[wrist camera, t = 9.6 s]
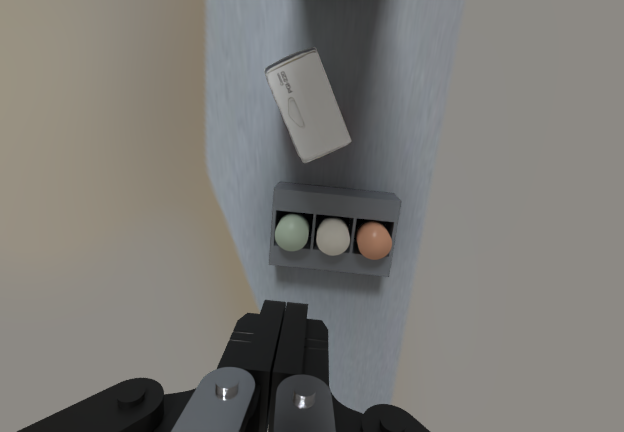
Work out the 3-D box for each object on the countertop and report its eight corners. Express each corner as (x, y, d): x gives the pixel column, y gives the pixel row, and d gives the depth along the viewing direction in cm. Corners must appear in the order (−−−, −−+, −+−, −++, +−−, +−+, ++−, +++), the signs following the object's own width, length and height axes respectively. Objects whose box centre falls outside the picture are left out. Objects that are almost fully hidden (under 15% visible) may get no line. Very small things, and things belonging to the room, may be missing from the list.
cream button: (318, 214, 41) (318, 222, 38) (350, 218, 41) (351, 225, 38) (315, 244, 42) (314, 253, 39) (346, 247, 41) (347, 257, 39)
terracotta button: (358, 218, 41) (360, 226, 38) (389, 221, 40) (394, 229, 38) (354, 248, 41) (356, 257, 39) (384, 251, 41) (389, 261, 39)
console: (279, 181, 43) (273, 188, 39) (393, 193, 43) (401, 201, 39) (274, 250, 46) (268, 264, 41) (382, 261, 46) (389, 276, 41)
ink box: (346, 138, 42) (353, 144, 30) (306, 154, 42) (299, 167, 31) (317, 65, 40) (314, 42, 28) (276, 83, 40) (257, 69, 29)
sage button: (279, 210, 41) (275, 217, 38) (310, 213, 41) (309, 221, 38) (277, 240, 42) (273, 249, 39) (307, 243, 42) (306, 252, 39)
